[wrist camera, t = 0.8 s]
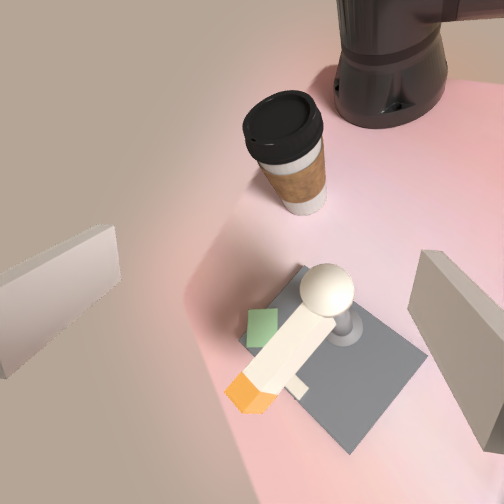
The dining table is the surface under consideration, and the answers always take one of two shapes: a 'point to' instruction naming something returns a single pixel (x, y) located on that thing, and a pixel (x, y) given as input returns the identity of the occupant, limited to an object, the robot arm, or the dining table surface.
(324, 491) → the dining table surface
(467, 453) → the dining table surface
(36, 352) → the robot arm
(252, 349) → the tuner board
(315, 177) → the coffee cup
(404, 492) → the dining table surface
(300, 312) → the orange tipped swivel lever
